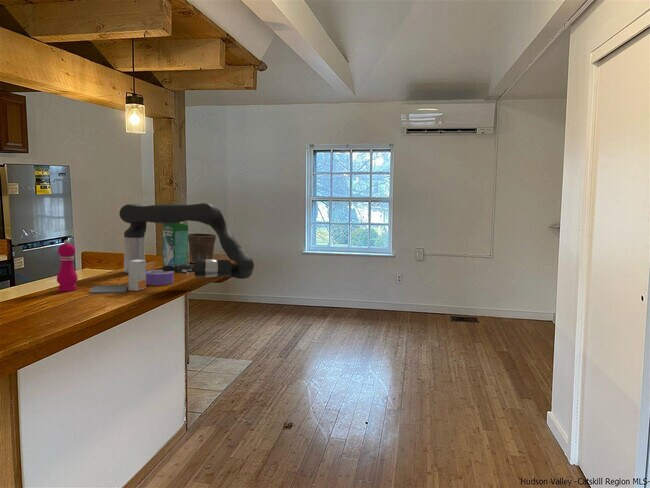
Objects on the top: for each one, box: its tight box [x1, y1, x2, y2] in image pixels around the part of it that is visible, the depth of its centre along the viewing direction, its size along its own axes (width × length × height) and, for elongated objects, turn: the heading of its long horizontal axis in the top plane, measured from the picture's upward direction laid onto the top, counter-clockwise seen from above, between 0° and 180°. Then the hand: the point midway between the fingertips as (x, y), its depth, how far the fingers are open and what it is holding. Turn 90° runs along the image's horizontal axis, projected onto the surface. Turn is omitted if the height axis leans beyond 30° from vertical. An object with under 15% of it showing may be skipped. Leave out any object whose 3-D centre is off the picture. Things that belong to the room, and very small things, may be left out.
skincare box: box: [128, 259, 147, 292], centre depth 191 cm, size 6×4×12 cm
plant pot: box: [188, 232, 218, 262], centre depth 267 cm, size 16×16×16 cm
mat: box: [88, 284, 129, 294], centre depth 189 cm, size 12×13×1 cm
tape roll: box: [146, 269, 175, 286], centre depth 207 cm, size 12×12×5 cm
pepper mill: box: [56, 239, 78, 292], centre depth 185 cm, size 7×7×20 cm
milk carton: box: [162, 222, 189, 269], centre depth 246 cm, size 9×9×25 cm
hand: (163, 268), depth 194 cm, fingers closed
